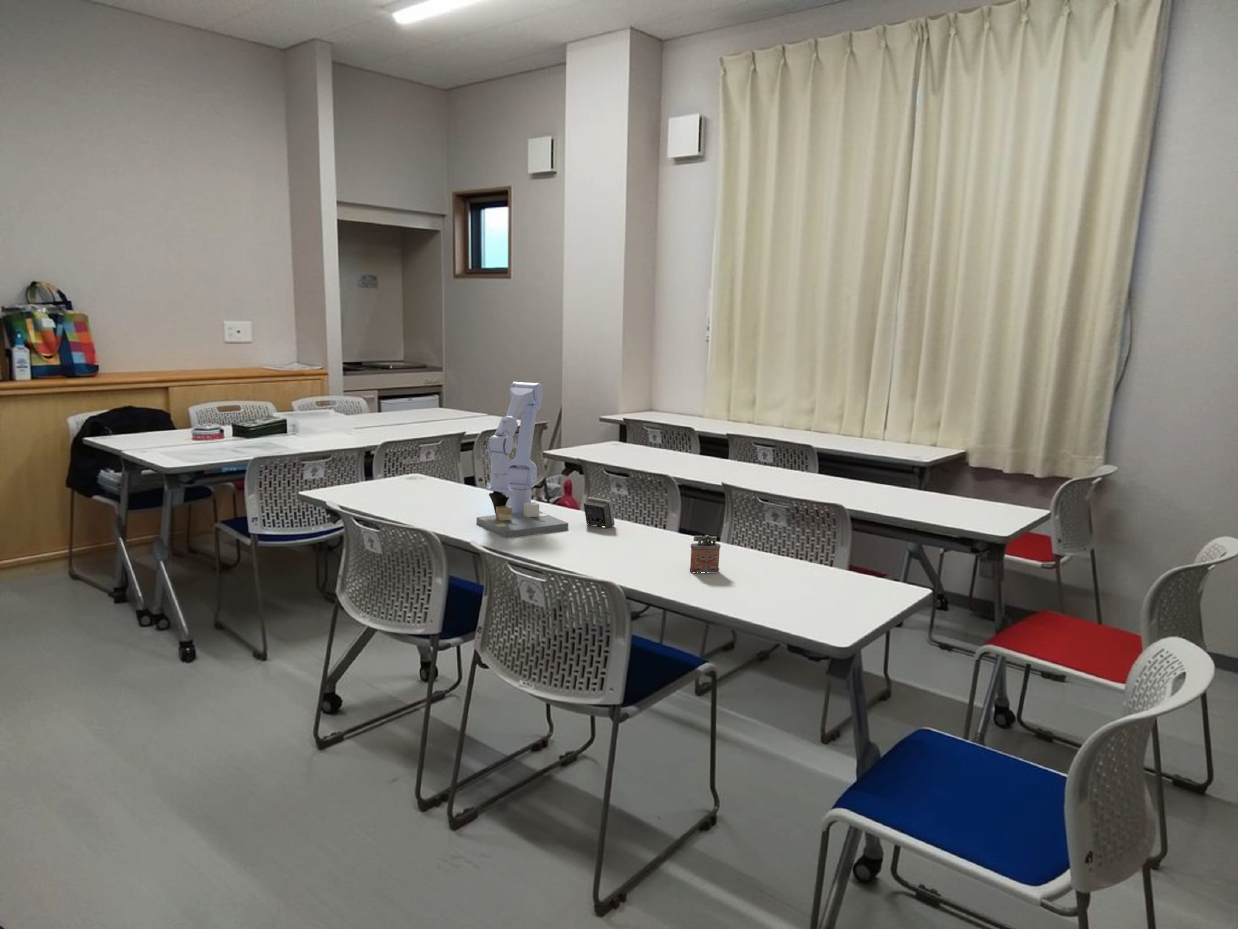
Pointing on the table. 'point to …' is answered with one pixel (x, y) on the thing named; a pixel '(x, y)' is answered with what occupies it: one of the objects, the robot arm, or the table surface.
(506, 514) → the wooden block
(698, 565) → the lighter
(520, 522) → the grey base plate
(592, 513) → the electrical switch
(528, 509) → the switch white
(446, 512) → the table surface
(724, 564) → the table surface
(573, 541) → the table surface
